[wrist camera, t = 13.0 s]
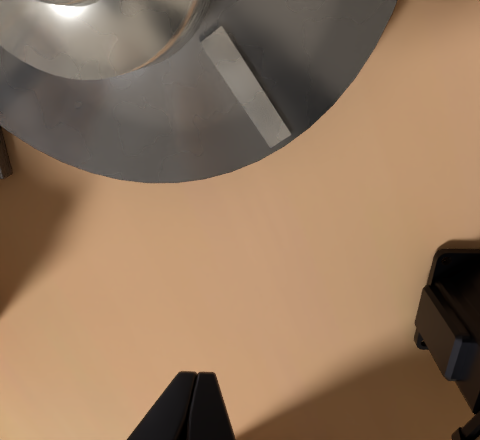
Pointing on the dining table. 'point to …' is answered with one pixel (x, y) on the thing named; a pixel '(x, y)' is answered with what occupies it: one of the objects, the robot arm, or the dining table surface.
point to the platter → (200, 92)
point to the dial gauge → (4, 159)
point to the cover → (97, 34)
